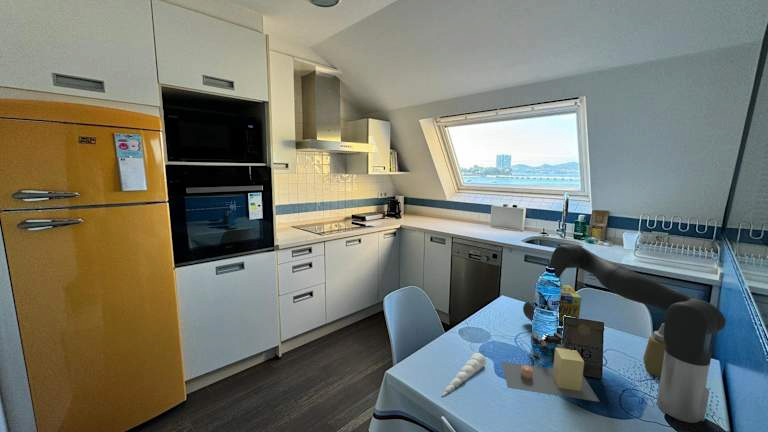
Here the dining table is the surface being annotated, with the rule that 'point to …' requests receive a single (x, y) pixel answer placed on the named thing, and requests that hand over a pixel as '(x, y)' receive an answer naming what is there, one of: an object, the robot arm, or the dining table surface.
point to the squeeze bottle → (655, 353)
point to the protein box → (569, 303)
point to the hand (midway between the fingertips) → (559, 350)
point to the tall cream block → (568, 369)
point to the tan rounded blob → (526, 372)
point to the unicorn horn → (466, 371)
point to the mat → (543, 382)
